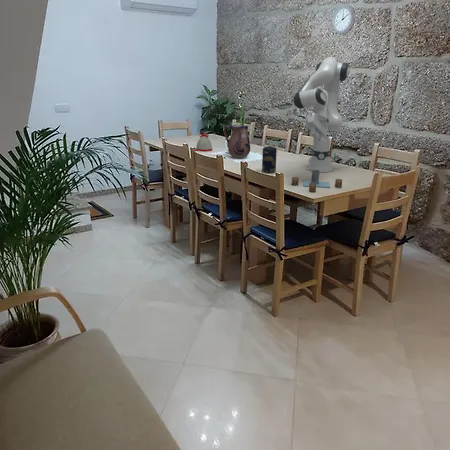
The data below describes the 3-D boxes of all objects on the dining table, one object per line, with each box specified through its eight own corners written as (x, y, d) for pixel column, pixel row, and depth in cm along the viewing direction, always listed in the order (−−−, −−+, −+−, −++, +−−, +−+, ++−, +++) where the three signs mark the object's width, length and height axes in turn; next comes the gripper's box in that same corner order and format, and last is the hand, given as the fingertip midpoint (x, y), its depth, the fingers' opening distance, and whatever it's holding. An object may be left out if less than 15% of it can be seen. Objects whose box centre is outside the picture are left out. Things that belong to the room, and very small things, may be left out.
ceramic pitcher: (250, 160, 331) (251, 127, 322) (223, 159, 331) (223, 127, 323) (249, 155, 347) (250, 124, 339) (223, 155, 348) (224, 124, 339)
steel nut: (311, 182, 266) (312, 169, 264) (318, 182, 265) (319, 170, 263) (310, 184, 262) (312, 171, 259) (318, 184, 261) (319, 172, 258)
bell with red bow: (209, 151, 361) (209, 134, 356) (194, 151, 364) (193, 133, 359) (213, 149, 374) (213, 131, 369) (198, 148, 377) (198, 131, 372)
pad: (303, 181, 270) (303, 180, 270) (328, 182, 268) (328, 181, 268) (303, 186, 259) (303, 185, 259) (330, 187, 257) (330, 186, 257)
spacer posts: (291, 183, 265) (292, 176, 263) (341, 186, 260) (342, 179, 259) (291, 191, 249) (291, 183, 247) (344, 194, 245) (345, 186, 243)
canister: (278, 172, 294) (279, 146, 288) (270, 174, 288) (271, 147, 281) (267, 169, 300) (268, 144, 294) (259, 172, 293) (259, 146, 287)
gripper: (316, 107, 250) (313, 129, 247) (330, 122, 266) (327, 143, 263) (306, 109, 254) (303, 130, 251) (321, 124, 270) (318, 144, 267)
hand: (316, 137), depth 257 cm, fingers open, 8 cm apart
